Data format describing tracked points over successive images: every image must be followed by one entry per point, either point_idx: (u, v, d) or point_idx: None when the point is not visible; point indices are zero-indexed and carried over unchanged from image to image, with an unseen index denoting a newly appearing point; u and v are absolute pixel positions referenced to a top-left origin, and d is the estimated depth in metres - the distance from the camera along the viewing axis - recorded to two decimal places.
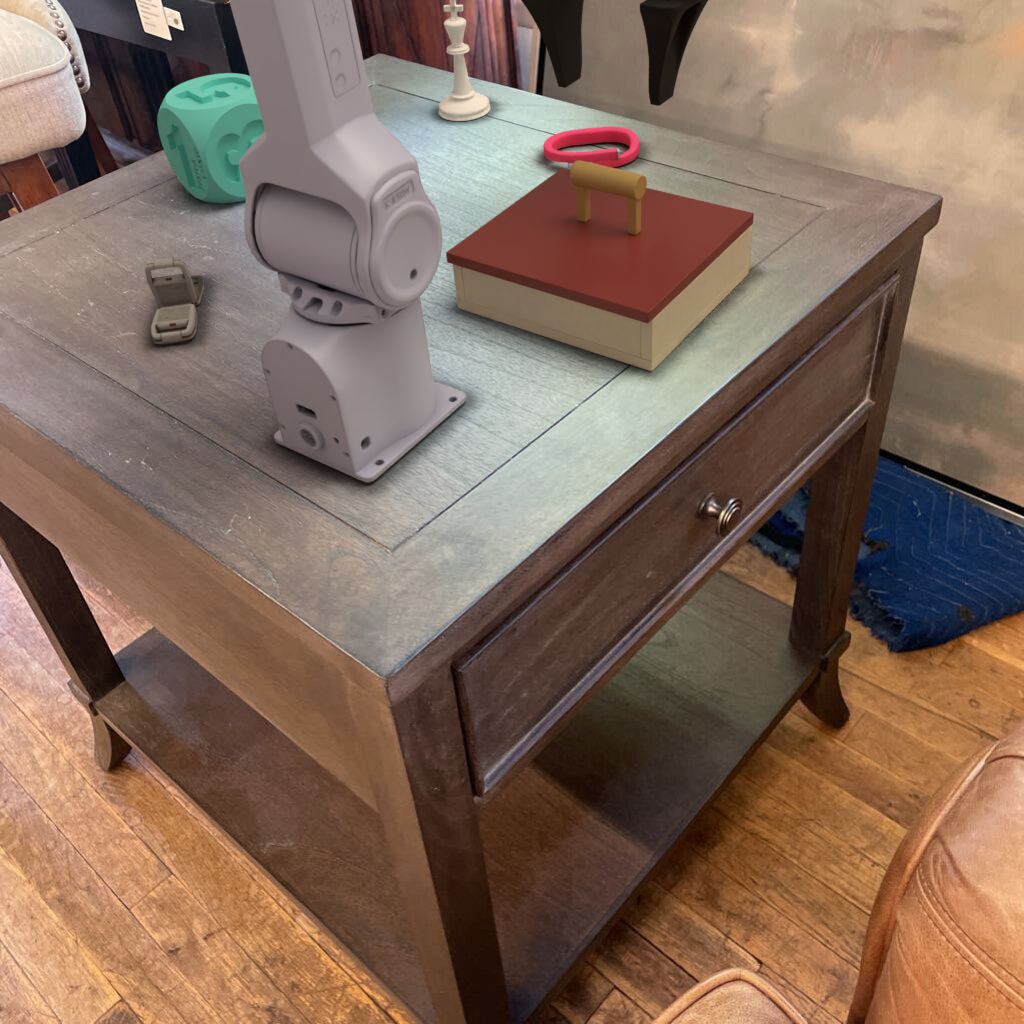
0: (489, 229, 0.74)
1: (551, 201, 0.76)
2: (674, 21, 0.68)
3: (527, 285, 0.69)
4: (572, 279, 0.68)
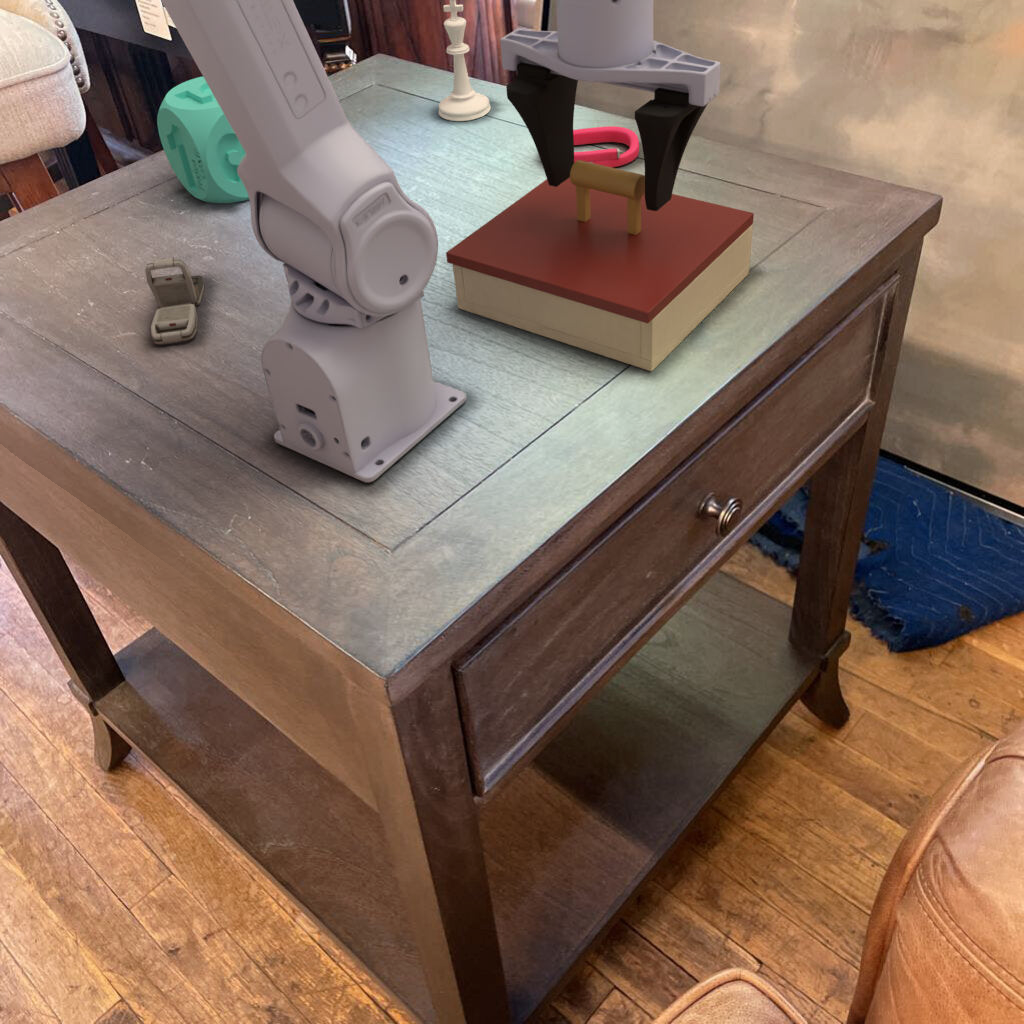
0: (489, 229, 0.74)
1: (551, 201, 0.76)
2: (671, 130, 0.63)
3: (527, 285, 0.69)
4: (572, 279, 0.68)
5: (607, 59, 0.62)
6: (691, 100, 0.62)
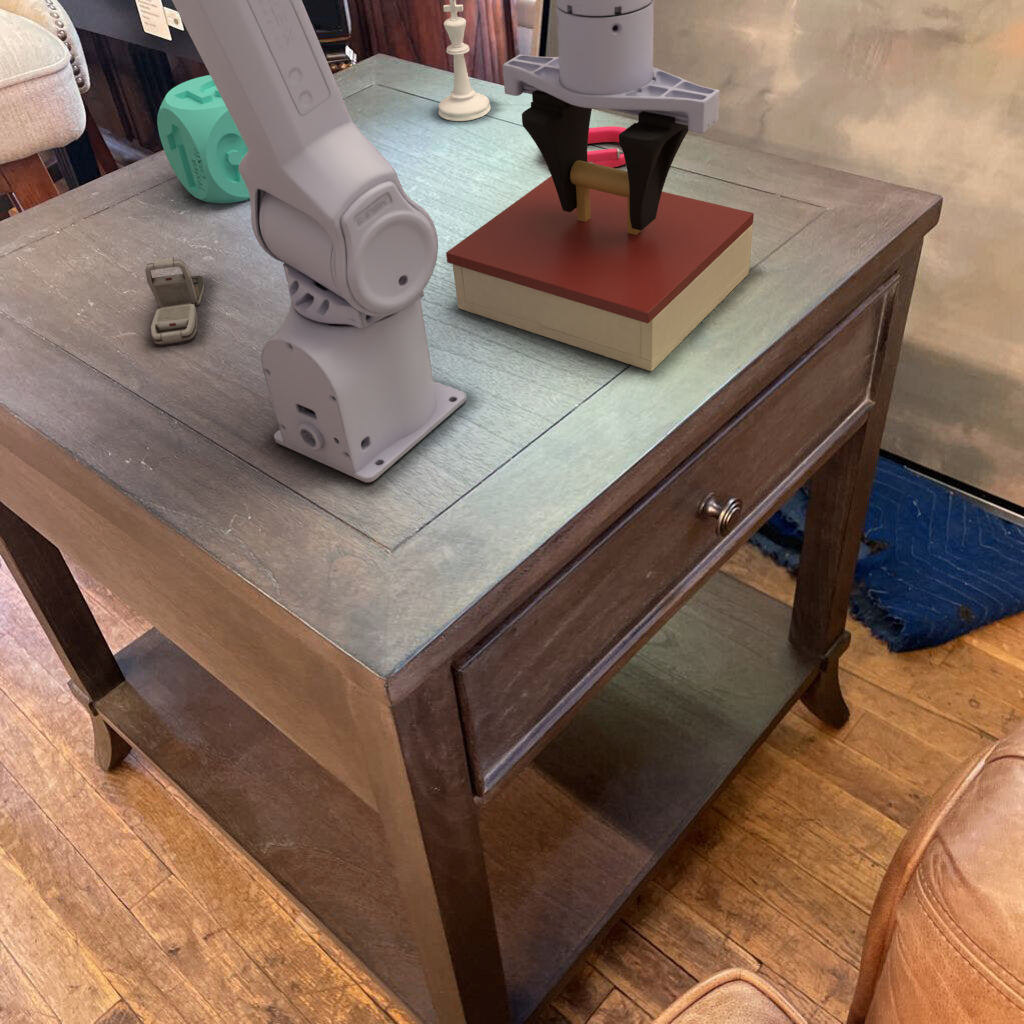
0: (489, 229, 0.74)
1: (551, 201, 0.76)
2: (654, 153, 0.64)
3: (527, 285, 0.69)
4: (572, 279, 0.68)
5: (608, 86, 0.64)
6: (690, 127, 0.64)
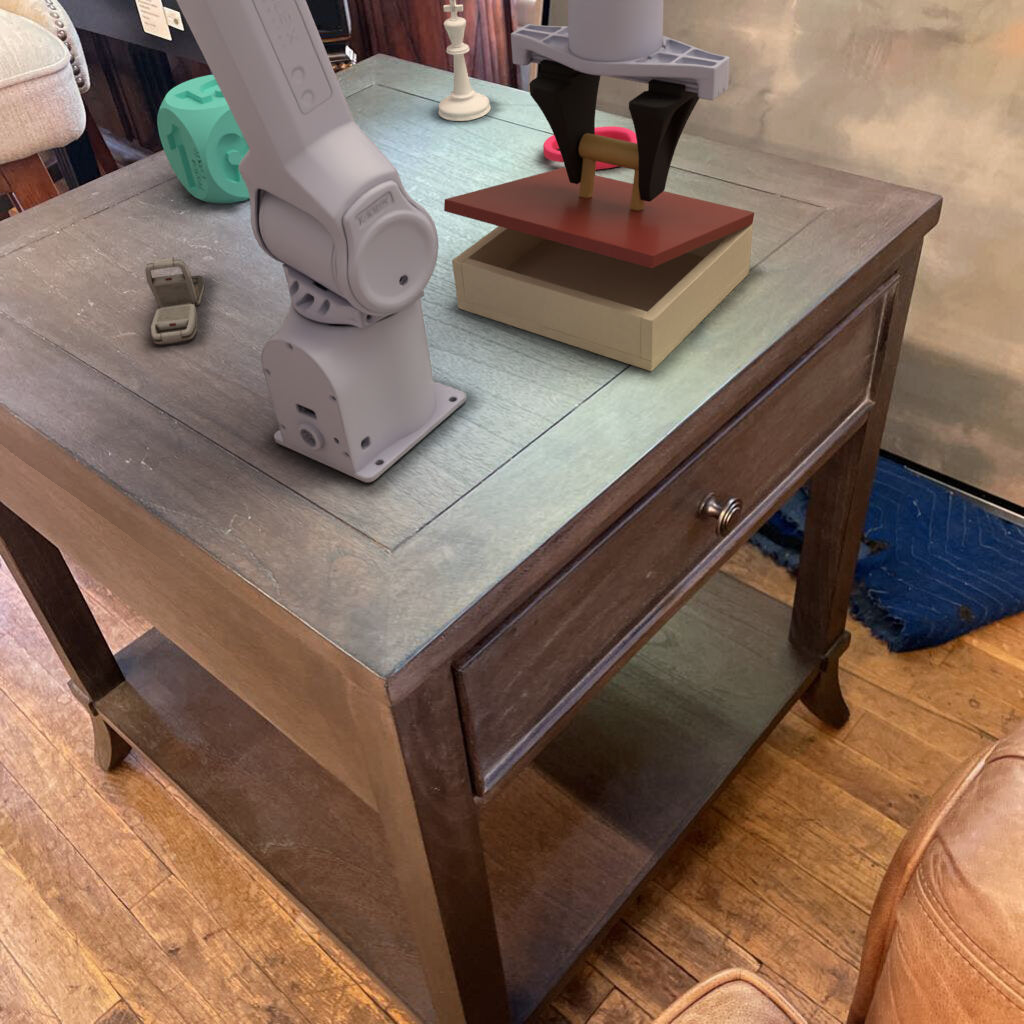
0: (489, 191, 0.72)
1: (552, 183, 0.75)
2: (664, 120, 0.64)
3: (527, 231, 0.67)
4: (575, 228, 0.66)
5: (617, 53, 0.63)
6: (700, 94, 0.63)
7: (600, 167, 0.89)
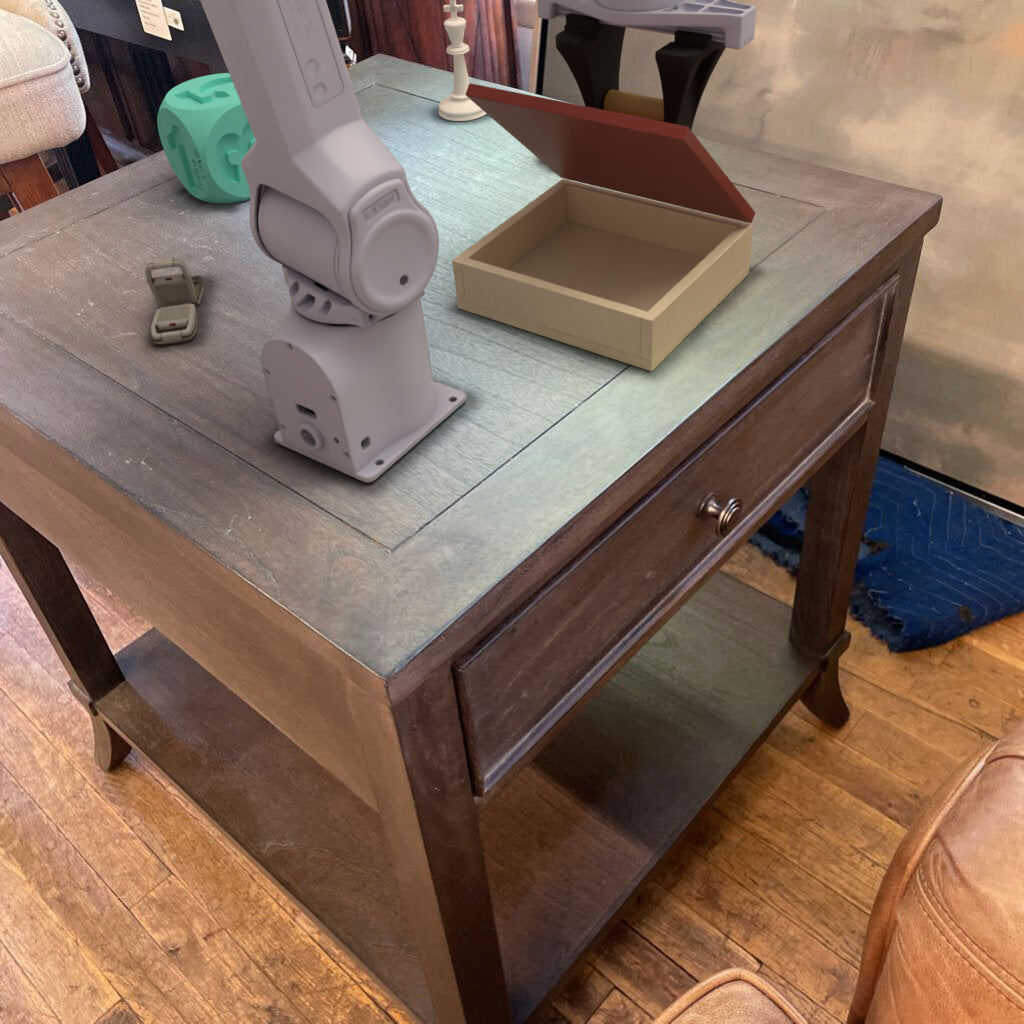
0: None
1: None
2: (691, 70, 0.64)
3: (552, 110, 0.65)
4: None
5: (645, 2, 0.64)
6: (727, 43, 0.64)
7: None
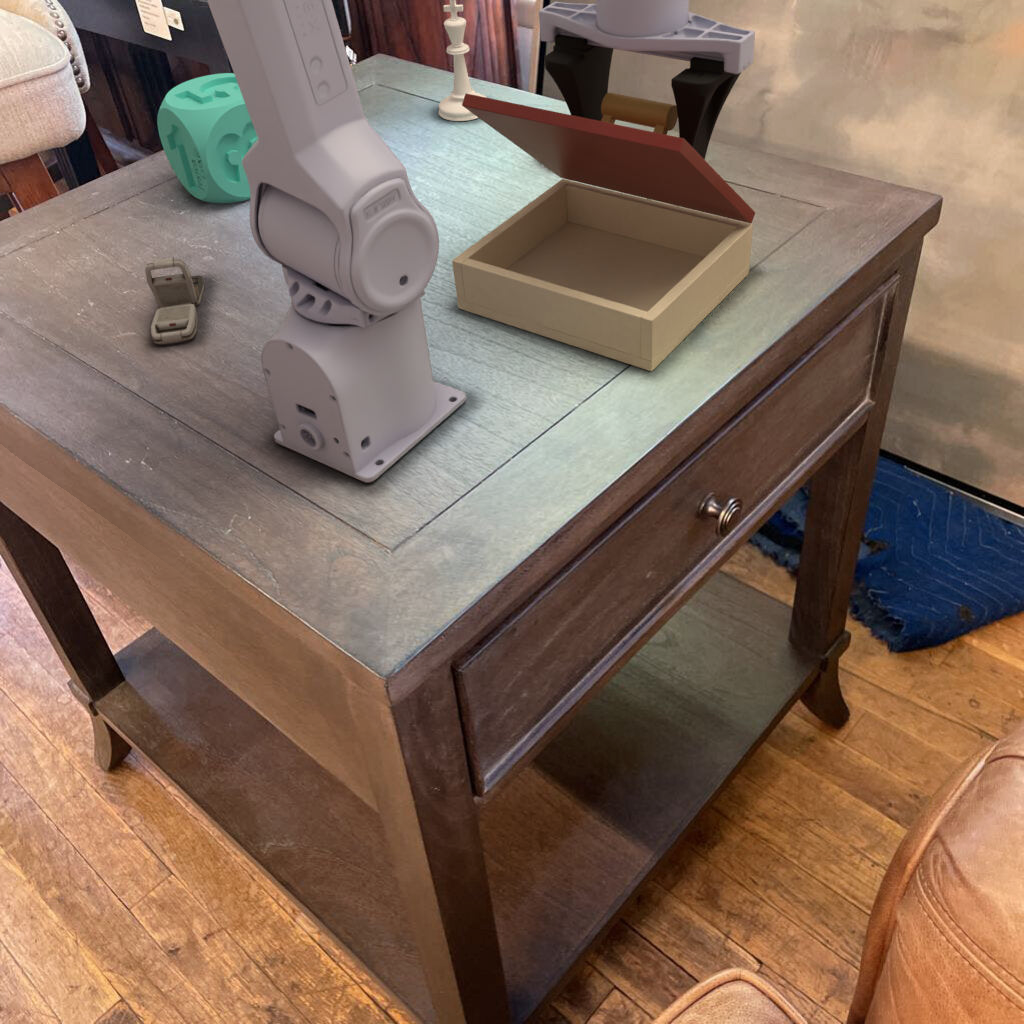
0: None
1: None
2: (707, 97, 0.65)
3: (549, 121, 0.65)
4: None
5: (645, 28, 0.65)
6: (726, 68, 0.65)
7: None
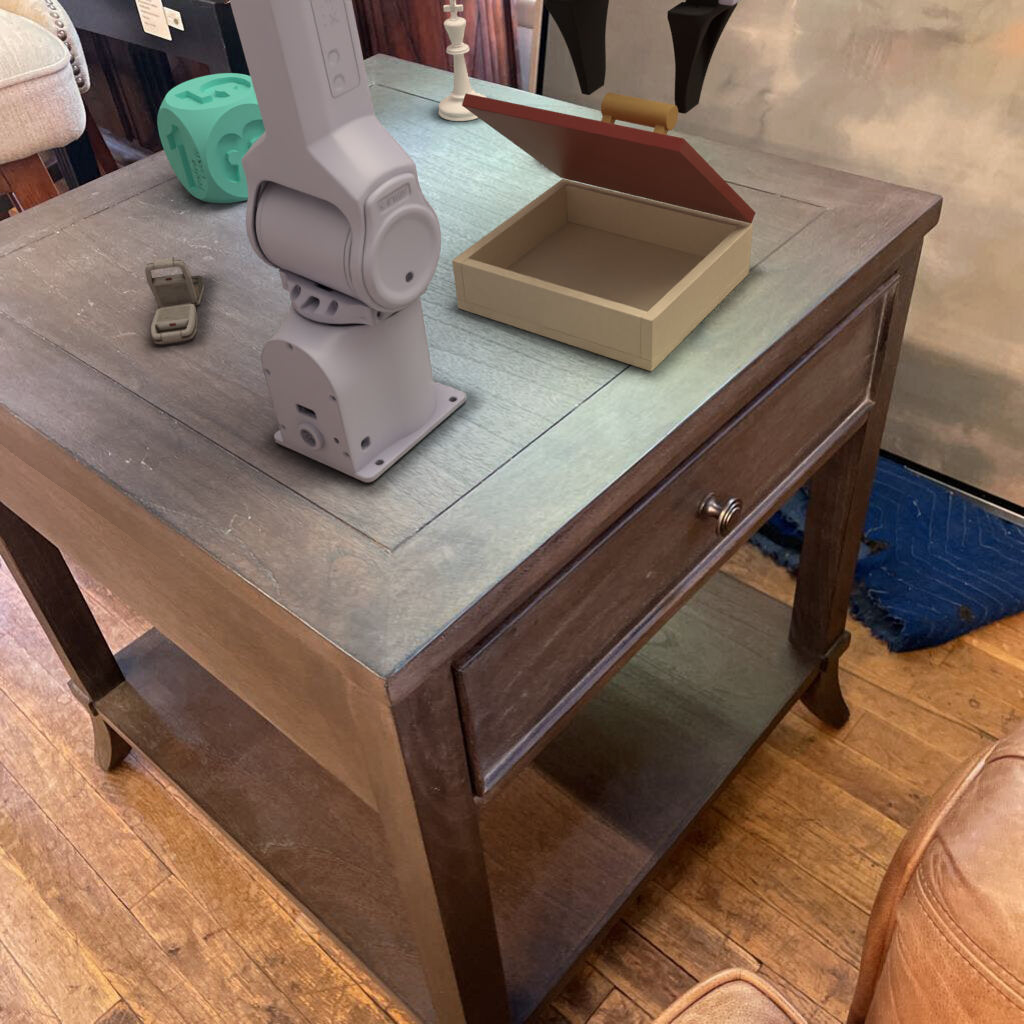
0: None
1: None
2: (702, 29, 0.67)
3: (549, 121, 0.65)
4: None
5: None
6: (721, 0, 0.66)
7: None
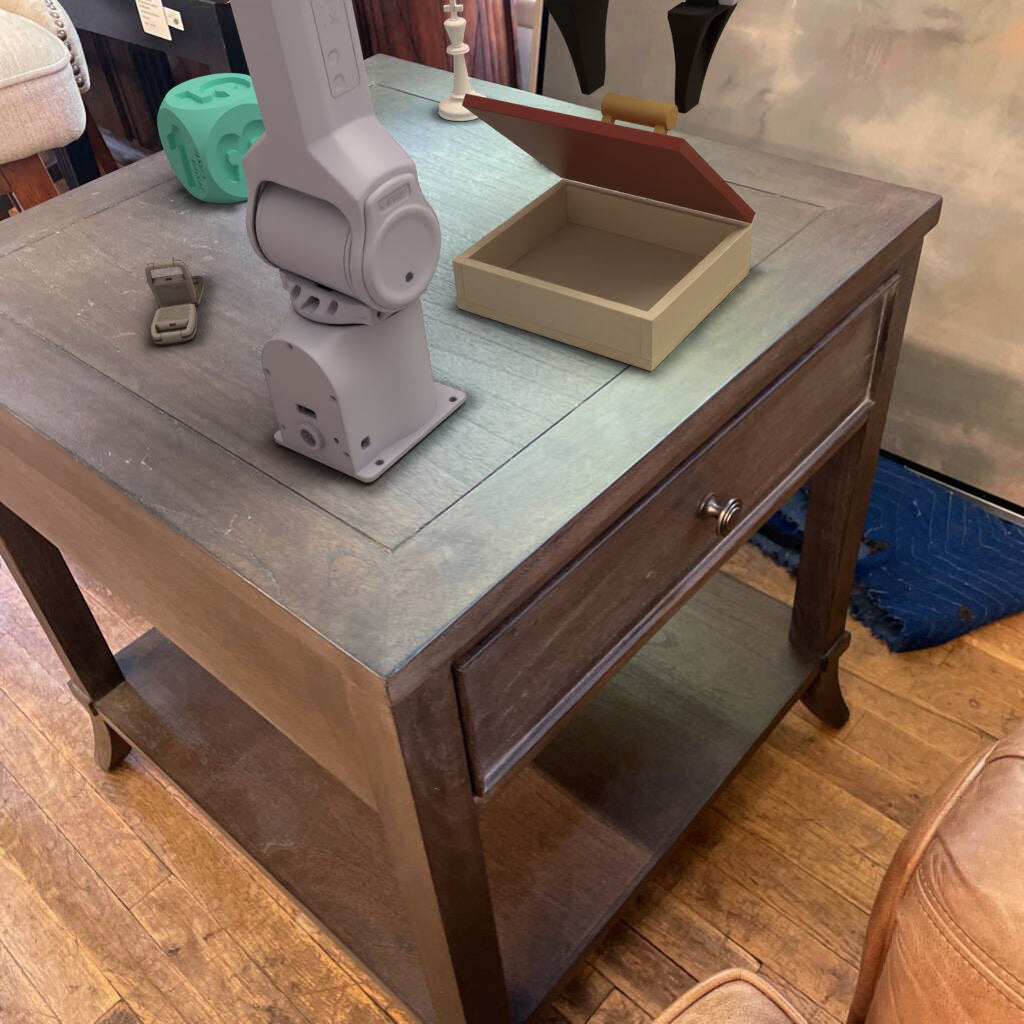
0: None
1: None
2: (702, 29, 0.67)
3: (549, 121, 0.65)
4: None
5: None
6: (721, 0, 0.66)
7: None
